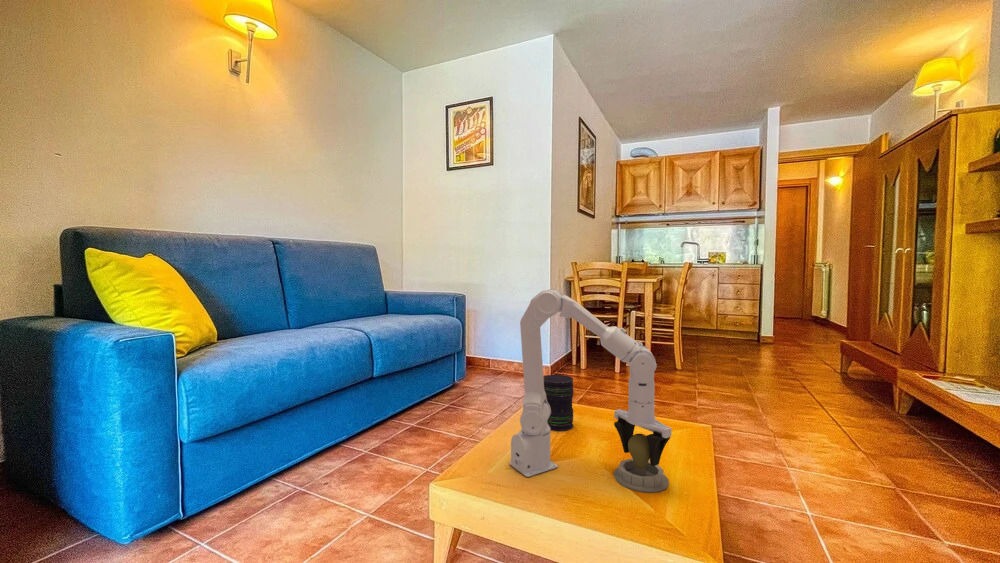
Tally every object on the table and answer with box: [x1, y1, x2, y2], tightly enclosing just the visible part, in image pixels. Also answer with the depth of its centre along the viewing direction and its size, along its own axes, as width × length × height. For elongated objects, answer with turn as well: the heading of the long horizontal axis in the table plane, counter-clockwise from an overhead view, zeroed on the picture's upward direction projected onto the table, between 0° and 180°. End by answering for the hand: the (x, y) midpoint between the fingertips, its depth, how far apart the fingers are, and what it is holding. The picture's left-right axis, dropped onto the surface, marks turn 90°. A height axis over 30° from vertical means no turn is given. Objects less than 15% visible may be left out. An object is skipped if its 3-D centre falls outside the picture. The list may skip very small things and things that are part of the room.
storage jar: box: [543, 374, 574, 432], centre depth 126 cm, size 10×10×15 cm
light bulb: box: [628, 433, 650, 476], centre depth 93 cm, size 6×6×10 cm
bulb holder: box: [613, 458, 670, 494], centre depth 93 cm, size 12×12×2 cm
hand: (640, 457), depth 93 cm, fingers open, 7 cm apart
